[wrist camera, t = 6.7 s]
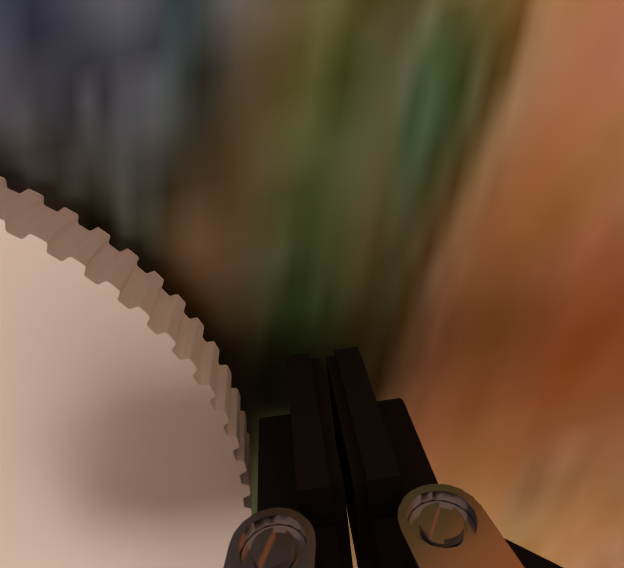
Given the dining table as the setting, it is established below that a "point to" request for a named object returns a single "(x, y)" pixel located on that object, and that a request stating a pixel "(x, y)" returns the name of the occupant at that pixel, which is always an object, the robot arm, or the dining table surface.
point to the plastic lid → (108, 408)
